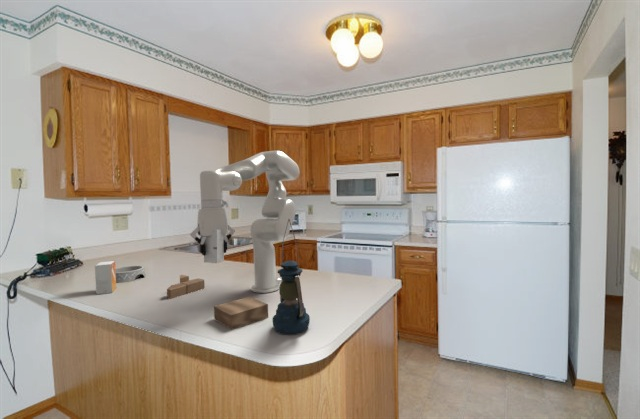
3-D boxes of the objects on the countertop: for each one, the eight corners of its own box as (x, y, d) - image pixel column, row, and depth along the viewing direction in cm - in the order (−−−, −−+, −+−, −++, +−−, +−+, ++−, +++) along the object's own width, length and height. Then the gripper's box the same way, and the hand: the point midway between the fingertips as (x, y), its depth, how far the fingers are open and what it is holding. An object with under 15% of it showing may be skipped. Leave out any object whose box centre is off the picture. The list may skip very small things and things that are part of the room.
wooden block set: (206, 276, 151) (169, 286, 135) (206, 288, 151) (170, 300, 136) (183, 272, 160) (147, 281, 145) (184, 283, 160) (148, 293, 145)
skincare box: (203, 262, 119) (201, 229, 118) (211, 260, 123) (209, 228, 122) (217, 263, 117) (216, 229, 116) (225, 260, 121) (223, 228, 120)
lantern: (265, 324, 107) (262, 218, 105) (297, 316, 113) (294, 216, 112) (284, 340, 95) (281, 221, 93) (318, 331, 101) (316, 218, 100)
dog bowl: (98, 282, 166) (97, 272, 165) (128, 273, 183) (128, 264, 183) (124, 284, 161) (124, 273, 161) (153, 275, 178) (153, 265, 178)
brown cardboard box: (249, 309, 122) (249, 296, 122) (268, 318, 114) (267, 304, 113) (214, 320, 113) (213, 306, 112) (231, 330, 104) (230, 315, 104)
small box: (112, 292, 146) (111, 264, 146) (95, 294, 144) (94, 265, 143) (116, 288, 154) (115, 260, 153) (101, 289, 152) (99, 261, 151)
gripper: (232, 203, 126) (233, 249, 127) (184, 205, 117) (186, 255, 118) (238, 204, 120) (240, 252, 121) (189, 206, 111) (191, 258, 112)
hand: (214, 253), depth 120 cm, fingers closed on skincare box, 6 cm apart
